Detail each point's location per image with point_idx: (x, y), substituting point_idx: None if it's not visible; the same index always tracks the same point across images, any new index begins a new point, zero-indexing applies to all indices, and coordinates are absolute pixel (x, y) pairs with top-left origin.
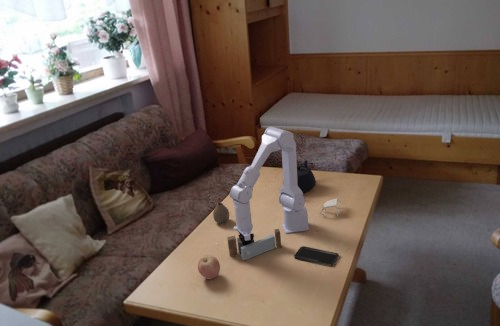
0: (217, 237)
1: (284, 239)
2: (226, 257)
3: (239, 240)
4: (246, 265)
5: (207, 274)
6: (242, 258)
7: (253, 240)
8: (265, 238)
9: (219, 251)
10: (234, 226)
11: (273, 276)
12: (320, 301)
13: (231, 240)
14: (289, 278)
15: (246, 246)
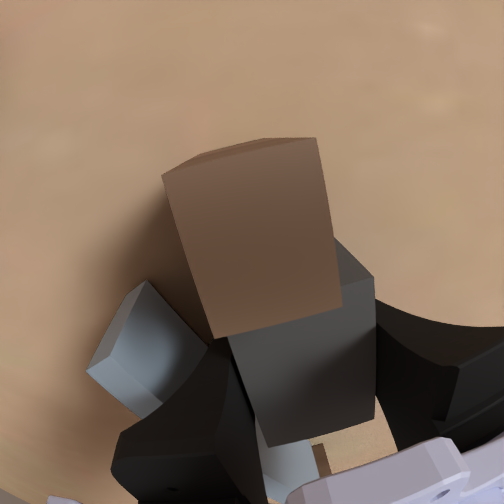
0: (489, 49)
1: (365, 457)
2: (182, 121)
3: (303, 318)
4: (78, 315)
5: None
6: (135, 290)
7: (278, 441)
8: (288, 494)
9: (298, 41)
10: (456, 485)
11: (38, 428)
12: (7, 482)
13: (187, 247)
14: (53, 465)
15: (143, 407)
